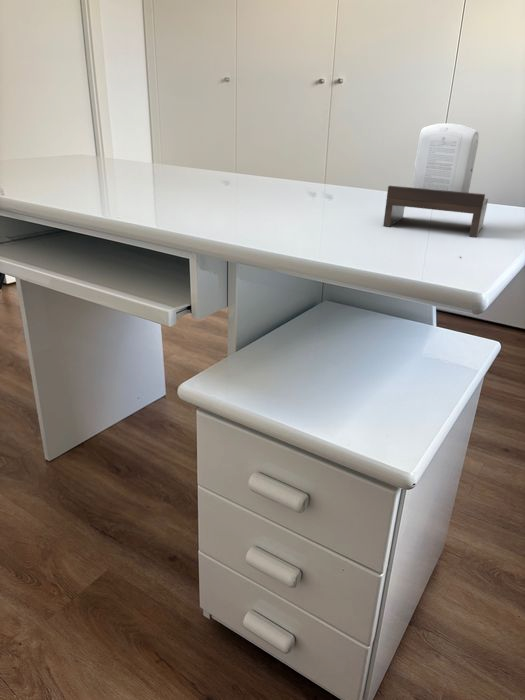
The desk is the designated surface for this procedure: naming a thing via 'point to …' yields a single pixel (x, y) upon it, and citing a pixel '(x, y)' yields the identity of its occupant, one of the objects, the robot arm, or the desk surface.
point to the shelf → (435, 204)
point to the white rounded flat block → (445, 157)
